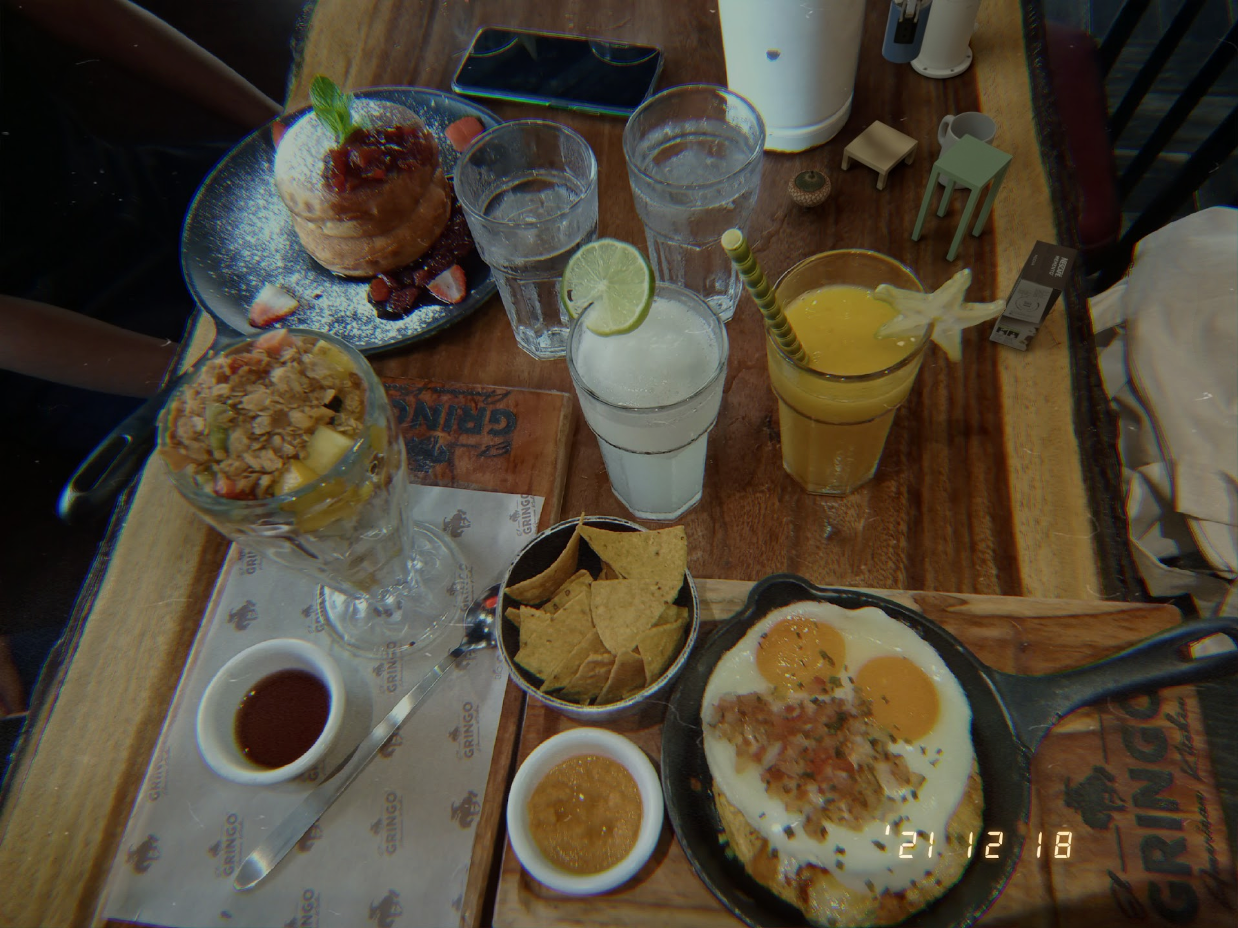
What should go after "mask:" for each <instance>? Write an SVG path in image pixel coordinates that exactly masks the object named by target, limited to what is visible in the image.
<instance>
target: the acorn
mask: <svg viewBox="0 0 1238 928" xmlns="http://www.w3.org/2000/svg"><path fill="white" fill-rule="evenodd" d="M831 183H832V182H831V180H830V178H829V177H828V176H827V175H826V174H825V173H823V172H821V171H819V170H815V169H811V170H809V169H808V170H807V169H806V170H802V171H798V172H796V173H795V174H794V175H793V176H792V177H791V178H790V180H789V181H788V185H787V194H788V196H789V198H790V199H791V200H792V201H793V202H794V204H796V205H798V206H799V207H803V212H807V211H809V210H810V209H811V208H813V207H817V206H818V205H821V204H822V203H823V202H825V201H826V200H827V198H828V197H829V195H830V194H831V191H832V184H831Z"/></svg>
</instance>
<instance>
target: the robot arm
mask: <svg viewBox="0 0 1238 928" xmlns="http://www.w3.org/2000/svg"><path fill="white" fill-rule="evenodd" d="M894 1H895V2H896V3H902V2H903V5H902V10H901V15H900V18H898V21H897V26H896V31H895V36H894V41H893V42H894V43H897V44H913V42H914V38H915V34H916V29H917V25H918V20H919V19H917V18H918V14H919V9H920V5H921V4H923V3H924V2H925V1H926V0H894ZM906 4H908V5H907V10H906V11H905V6H906ZM981 4H982V0H933V2H932V6H931V10H930V14H929V18H928V23H927V27H926V31H925V35H924V39H923V43H922V47H921V52H920V54H919V56H918V57H917V58H916V59H915V60H913V61H910V62H909V63H910V65H911V67H912V68H913V70H915V71H916V72H917V73H919V74H920V75H922V76H925V77H926V78H927V77H928V78H932V79H948V78H953V77H955V76H958V75H961V74H963V73H964V72H965V71H967V70H968V68H969V67H970V65H971V64H972V60H973V50H972V49H971V48H970V46H969V44H970V41H971V38H972V36H973V35H975V33H976V32H978V31H979V29H980V24H979V23H978V22H976V20H977V18H978V14H979V11H980V7H981ZM915 5H917V7H916V12H915V11H914V10H915ZM904 11H905V12H904Z"/></svg>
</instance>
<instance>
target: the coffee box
mask: <svg viewBox="0 0 1238 928" xmlns="http://www.w3.org/2000/svg"><path fill="white" fill-rule="evenodd" d="M1078 252H1079V251H1078V250H1077V249H1075V248H1071V247H1067V246H1063V245H1059V244H1055V243H1051V242H1050V243H1049V242H1047V241H1042V240H1040V239H1036V241H1035V243H1034V244H1033V247H1032V248H1031V250H1030V252H1029V254H1028V256H1027V258H1026V260H1025V262H1024V264H1023V266H1022V268H1021V270H1020V271H1019V274H1018V276H1017V278H1016V279H1015V282H1014V284H1013V286H1012V288H1011V290H1010V291H1009V294H1008V296H1007V297H1006V300H1005V301H1006V309H1005V310H1004V312H1003V313H1002V314H1001V315H1000V314H999V315H1000V316H999V315H998V318H997V320H996V322H995V324H994V326H993V329H992V332H991V335H990V336H989V341H992V342H995V343H998V344H1001V345H1004V346H1007V347H1011V348H1014V349H1016V350H1019V351H1023V352H1025V351H1026V350H1027V349H1028V347H1029V346H1030V345H1031V344H1032V343H1031V342H1032V341H1033V340H1034V338H1035V336H1036V335H1037V333H1038V331H1039V330H1040V328H1041V327H1042V325H1043V323H1044V322H1045V320H1046V319H1047V317H1048V315H1049V314H1050V312H1051V311H1052V310H1053V307H1054V306H1055V305H1056V303H1057V301H1059V300H1058V299H1059V298H1060V296H1061V295H1062V293H1063V292H1064V291H1065V288H1066V286H1067V282H1068V280H1069V277H1070V275H1071V271H1072V268H1073V266H1074V262H1075V260H1076V258H1077V255H1078Z"/></svg>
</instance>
